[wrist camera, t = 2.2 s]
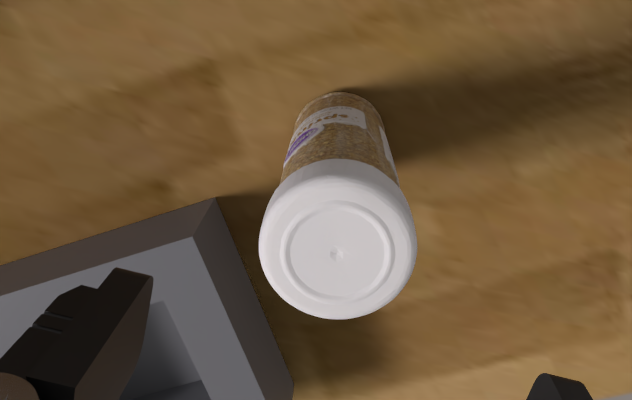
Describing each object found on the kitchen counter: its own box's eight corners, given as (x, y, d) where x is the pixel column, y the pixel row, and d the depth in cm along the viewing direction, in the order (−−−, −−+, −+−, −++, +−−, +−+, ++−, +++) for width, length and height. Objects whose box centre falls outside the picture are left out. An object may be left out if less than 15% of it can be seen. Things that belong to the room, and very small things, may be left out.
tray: (-144, 311, 34) (-281, 405, 26) (215, 197, 31) (174, 267, 23) (-36, 471, 38) (-129, 593, 30) (293, 384, 34) (280, 496, 27)
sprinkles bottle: (320, 72, 28) (304, 146, 16) (403, 119, 29) (451, 225, 16) (276, 154, 30) (229, 282, 17) (356, 196, 30) (367, 350, 18)
